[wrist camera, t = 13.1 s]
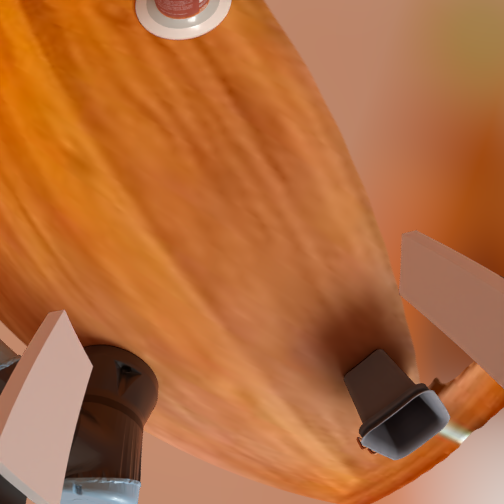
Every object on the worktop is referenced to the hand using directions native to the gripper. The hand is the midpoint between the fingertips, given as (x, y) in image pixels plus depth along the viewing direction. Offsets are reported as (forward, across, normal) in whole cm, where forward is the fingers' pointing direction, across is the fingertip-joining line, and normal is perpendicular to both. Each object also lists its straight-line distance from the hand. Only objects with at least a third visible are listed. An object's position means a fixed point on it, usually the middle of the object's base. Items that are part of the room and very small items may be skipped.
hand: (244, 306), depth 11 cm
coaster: (+26, +1, +23) cm, 35 cm away
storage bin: (+26, +23, -41) cm, 54 cm away
